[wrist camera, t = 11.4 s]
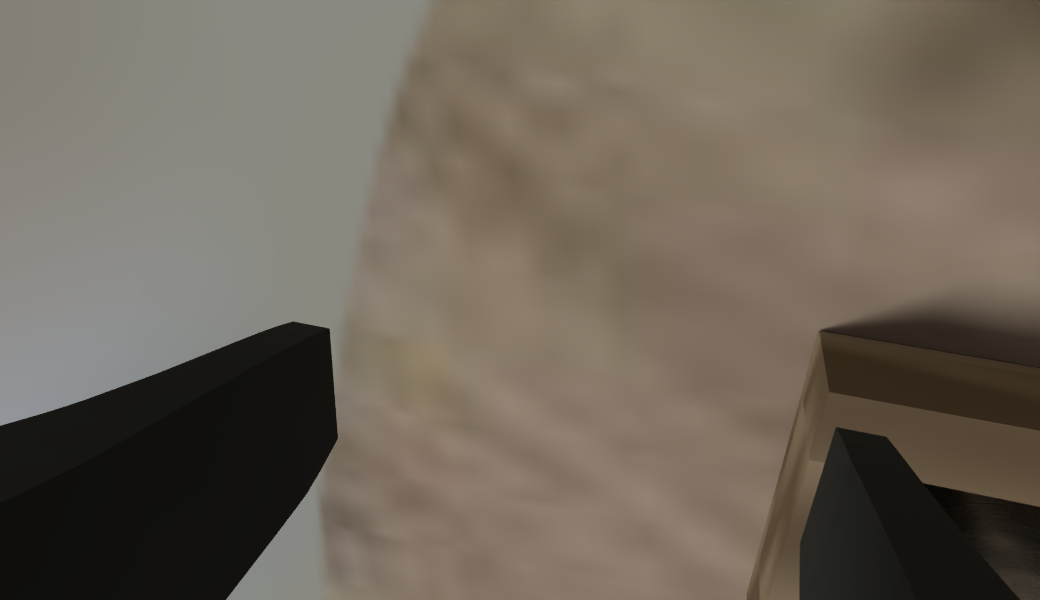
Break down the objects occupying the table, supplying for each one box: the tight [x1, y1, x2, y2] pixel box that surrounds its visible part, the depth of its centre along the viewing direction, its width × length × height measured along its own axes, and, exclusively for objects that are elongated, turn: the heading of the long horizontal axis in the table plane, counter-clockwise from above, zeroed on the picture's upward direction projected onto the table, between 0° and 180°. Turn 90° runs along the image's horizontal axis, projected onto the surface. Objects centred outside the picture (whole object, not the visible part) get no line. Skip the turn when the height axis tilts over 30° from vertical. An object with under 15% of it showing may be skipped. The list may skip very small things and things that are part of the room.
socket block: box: [747, 331, 1040, 600], centre depth 20 cm, size 10×10×3 cm
